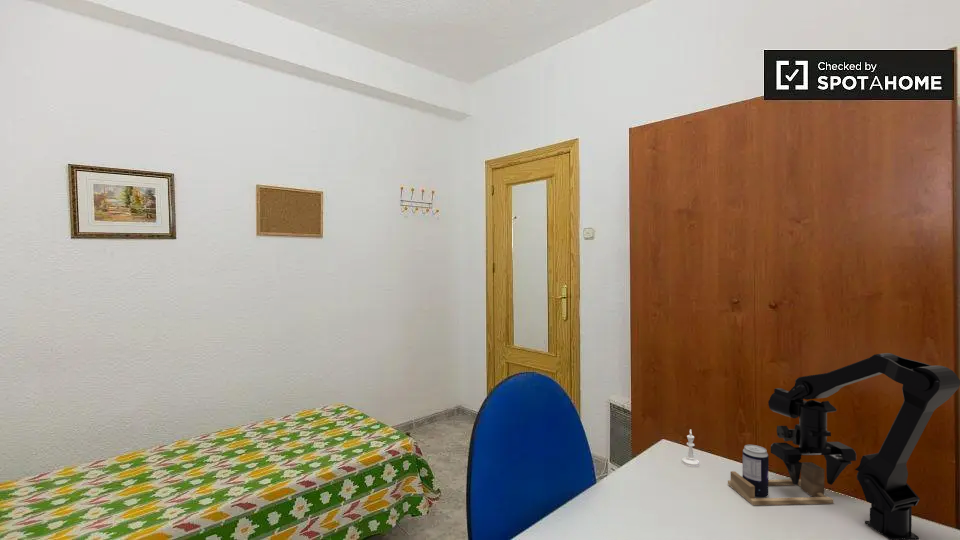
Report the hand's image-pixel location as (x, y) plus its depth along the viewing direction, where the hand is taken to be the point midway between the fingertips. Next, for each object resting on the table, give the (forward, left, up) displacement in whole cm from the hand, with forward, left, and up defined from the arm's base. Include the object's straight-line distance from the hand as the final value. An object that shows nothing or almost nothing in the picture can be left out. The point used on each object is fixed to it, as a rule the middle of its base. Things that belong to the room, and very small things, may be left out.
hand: (812, 484), depth 114 cm
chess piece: (+22, -18, -3) cm, 29 cm away
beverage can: (+15, 0, -3) cm, 15 cm away
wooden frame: (+8, 0, -2) cm, 9 cm away
